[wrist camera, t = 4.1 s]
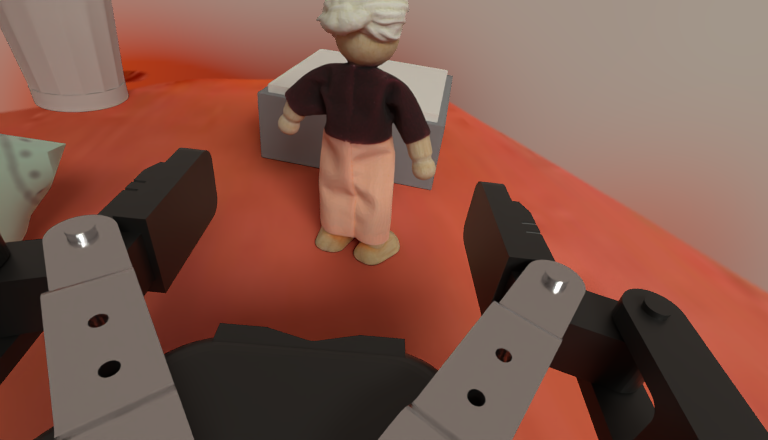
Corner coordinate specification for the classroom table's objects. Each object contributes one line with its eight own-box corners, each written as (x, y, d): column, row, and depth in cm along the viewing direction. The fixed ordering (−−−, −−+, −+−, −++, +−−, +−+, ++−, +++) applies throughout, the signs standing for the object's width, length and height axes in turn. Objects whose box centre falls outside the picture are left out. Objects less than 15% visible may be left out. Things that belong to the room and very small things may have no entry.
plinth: (261, 156, 28) (256, 84, 25) (316, 102, 38) (317, 46, 35) (431, 190, 27) (446, 119, 24) (442, 125, 37) (454, 69, 34)
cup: (3, 116, 28) (-93, -98, 22) (39, 80, 34) (-27, -97, 27) (132, 115, 31) (83, -77, 24) (145, 82, 37) (109, -80, 30)
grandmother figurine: (421, 233, 23) (476, -24, 16) (412, 278, 20) (476, -17, 13) (292, 206, 24) (288, -53, 16) (264, 246, 20) (243, -53, 13)
